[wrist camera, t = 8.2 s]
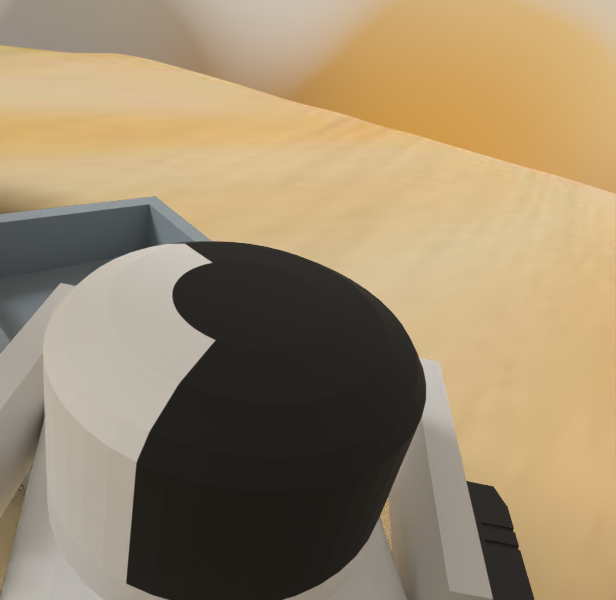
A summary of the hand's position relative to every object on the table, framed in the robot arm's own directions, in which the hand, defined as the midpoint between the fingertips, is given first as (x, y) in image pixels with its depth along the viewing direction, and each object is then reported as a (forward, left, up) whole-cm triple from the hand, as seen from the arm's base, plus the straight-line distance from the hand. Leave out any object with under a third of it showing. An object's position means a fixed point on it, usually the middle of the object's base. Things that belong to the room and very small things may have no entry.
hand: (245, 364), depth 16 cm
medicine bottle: (+3, -3, -7) cm, 9 cm away
